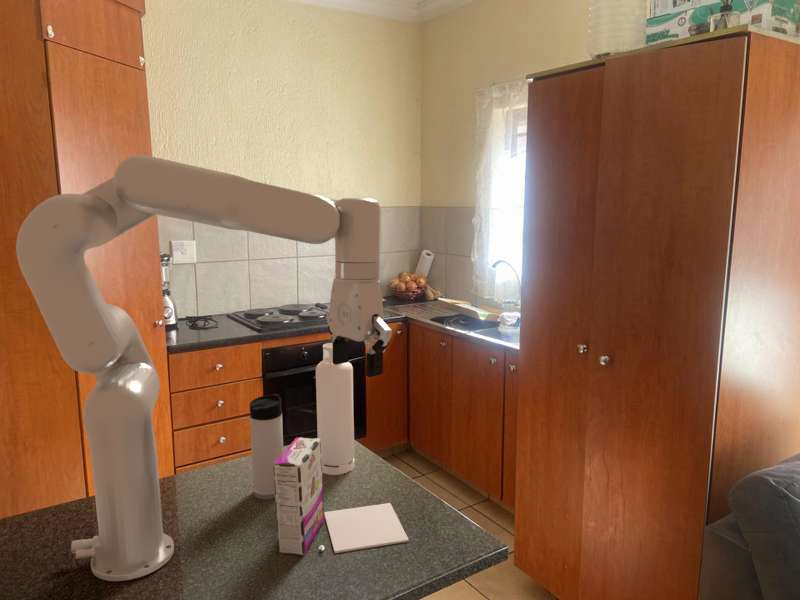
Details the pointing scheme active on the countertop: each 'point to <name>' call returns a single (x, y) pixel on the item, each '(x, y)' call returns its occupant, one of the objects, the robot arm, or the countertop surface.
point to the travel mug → (265, 443)
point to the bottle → (335, 413)
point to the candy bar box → (299, 495)
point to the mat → (364, 527)
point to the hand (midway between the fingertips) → (357, 369)
